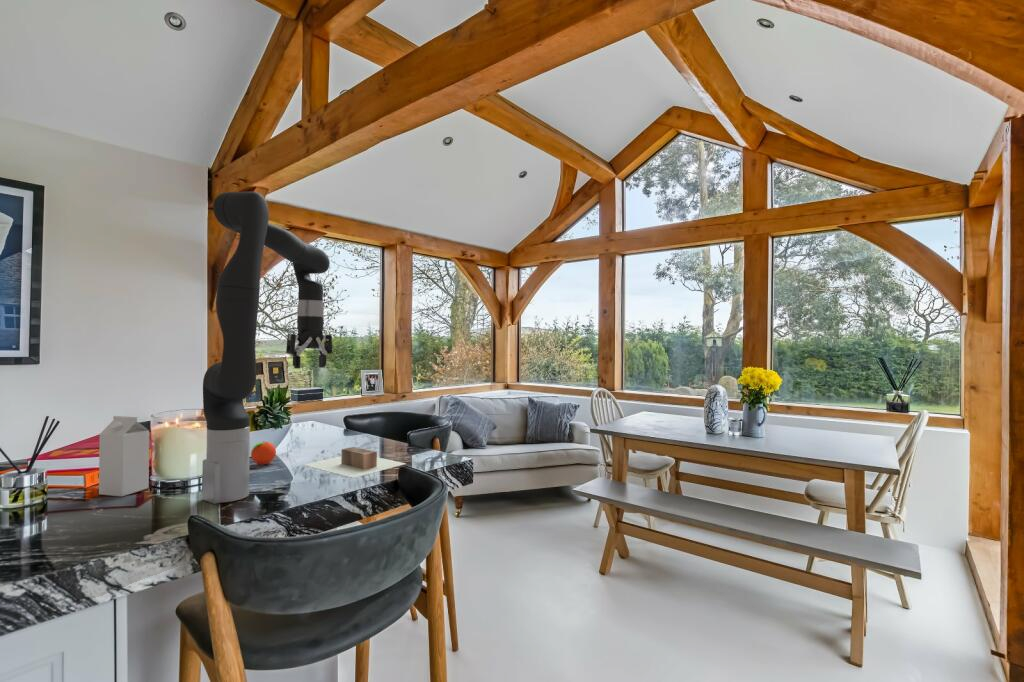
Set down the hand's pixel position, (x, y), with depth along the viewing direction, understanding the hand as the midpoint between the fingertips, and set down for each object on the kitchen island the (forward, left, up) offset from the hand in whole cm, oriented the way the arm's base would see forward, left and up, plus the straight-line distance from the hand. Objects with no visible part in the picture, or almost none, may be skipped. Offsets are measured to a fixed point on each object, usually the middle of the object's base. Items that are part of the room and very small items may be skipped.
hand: (309, 367), depth 153 cm
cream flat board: (+8, -12, -30) cm, 33 cm away
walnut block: (+8, -8, -27) cm, 30 cm away
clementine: (-8, +12, -30) cm, 34 cm away
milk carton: (-43, +13, -30) cm, 54 cm away
